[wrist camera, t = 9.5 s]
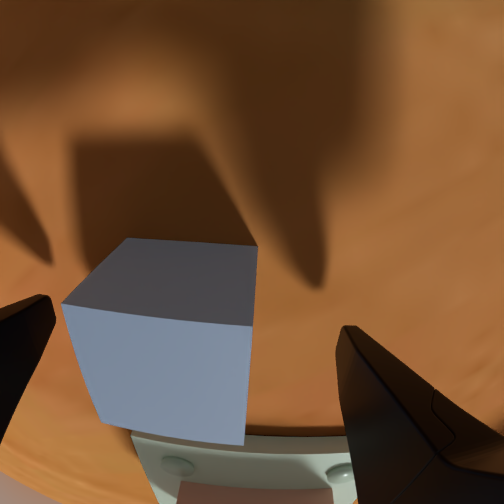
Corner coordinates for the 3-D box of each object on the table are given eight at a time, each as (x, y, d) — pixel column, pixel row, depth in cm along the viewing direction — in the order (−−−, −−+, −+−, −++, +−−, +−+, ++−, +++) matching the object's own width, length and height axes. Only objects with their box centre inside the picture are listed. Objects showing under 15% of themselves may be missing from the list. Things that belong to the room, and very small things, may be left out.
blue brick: (258, 245, 9) (252, 326, 6) (250, 352, 11) (243, 445, 7) (128, 236, 10) (60, 303, 6) (141, 340, 11) (101, 422, 7)
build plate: (389, 432, 13) (395, 452, 12) (330, 516, 17) (331, 530, 16) (136, 419, 13) (128, 440, 12) (168, 507, 18) (165, 521, 16)
